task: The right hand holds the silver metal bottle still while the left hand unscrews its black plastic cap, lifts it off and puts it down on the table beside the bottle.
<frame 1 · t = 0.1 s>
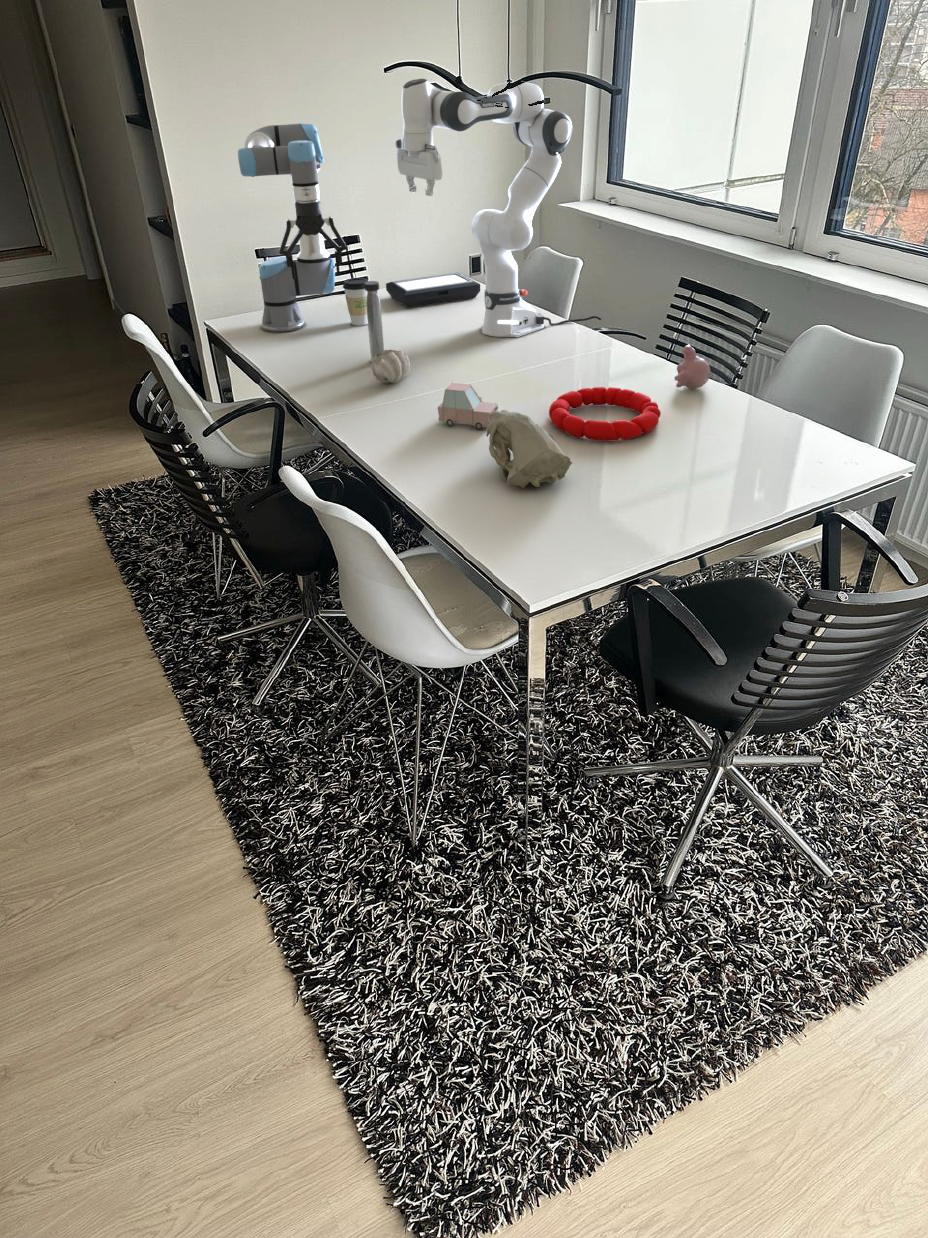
left hand: (316, 276, 273), 28 cm above the table, tool pointing down, fingers open, 13 cm apart
right hand: (421, 193, 273), 48 cm above the table, tool pointing down, fingers open, 8 cm apart
seashell: (392, 382, 274), on the table
coffee cup: (360, 323, 327), on the table
cap: (371, 283, 278), point 24 cm above the table, screwed on, not yet turned
figurine: (690, 388, 263), on the table
toy car: (468, 423, 246), on the table
bottle: (378, 361, 292), on the table
decorative ring: (603, 422, 244), on the table
electronic device: (433, 298, 352), on the table
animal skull: (520, 470, 220), on the table
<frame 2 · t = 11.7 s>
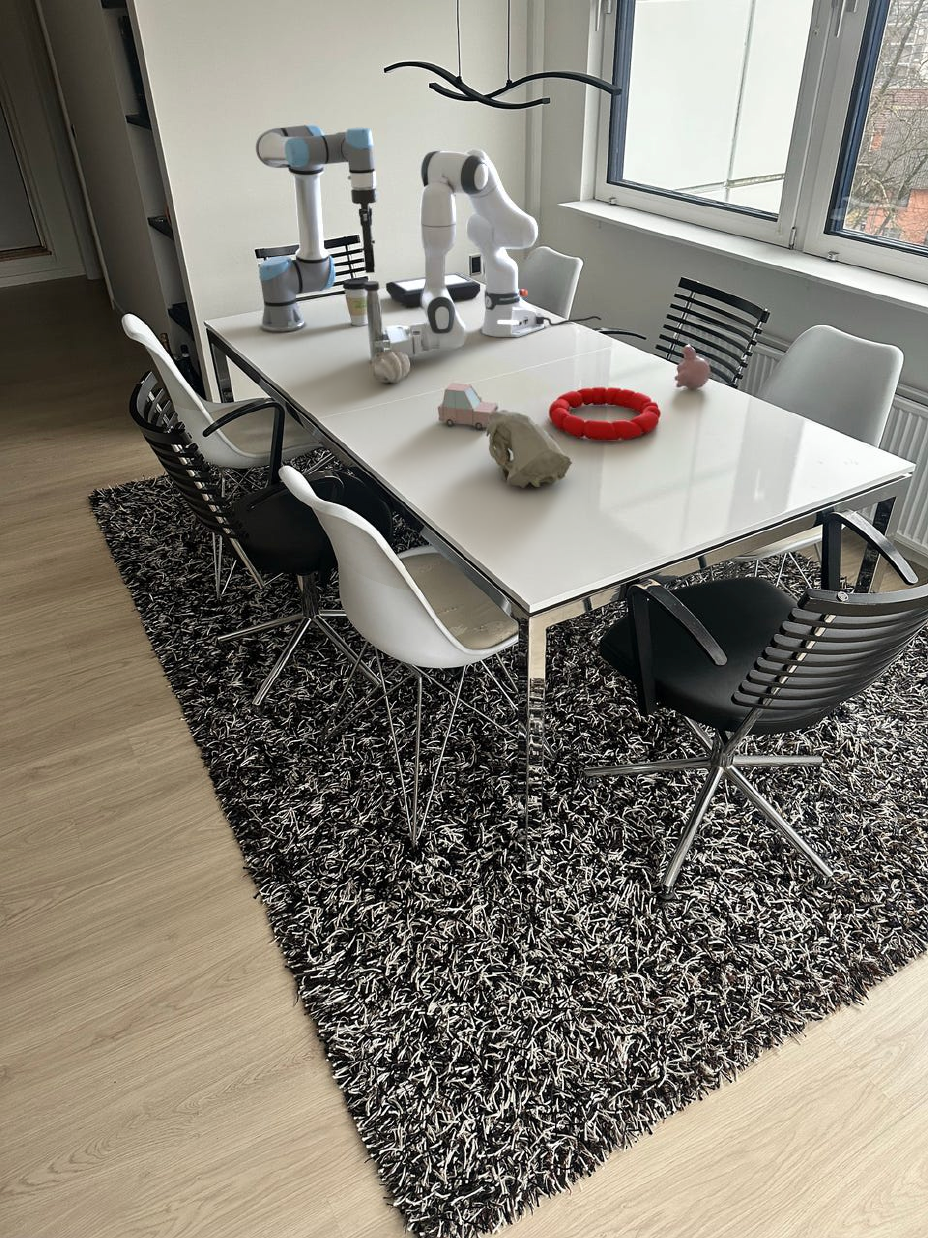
left hand: (370, 269, 275), 29 cm above the table, tool pointing down, fingers open, 7 cm apart
right hand: (373, 341, 288), 7 cm above the table, tool horizontal, fingers closed on bottle, 4 cm apart
bottle: (378, 361, 292), on the table, touching right hand
everything else where it was.
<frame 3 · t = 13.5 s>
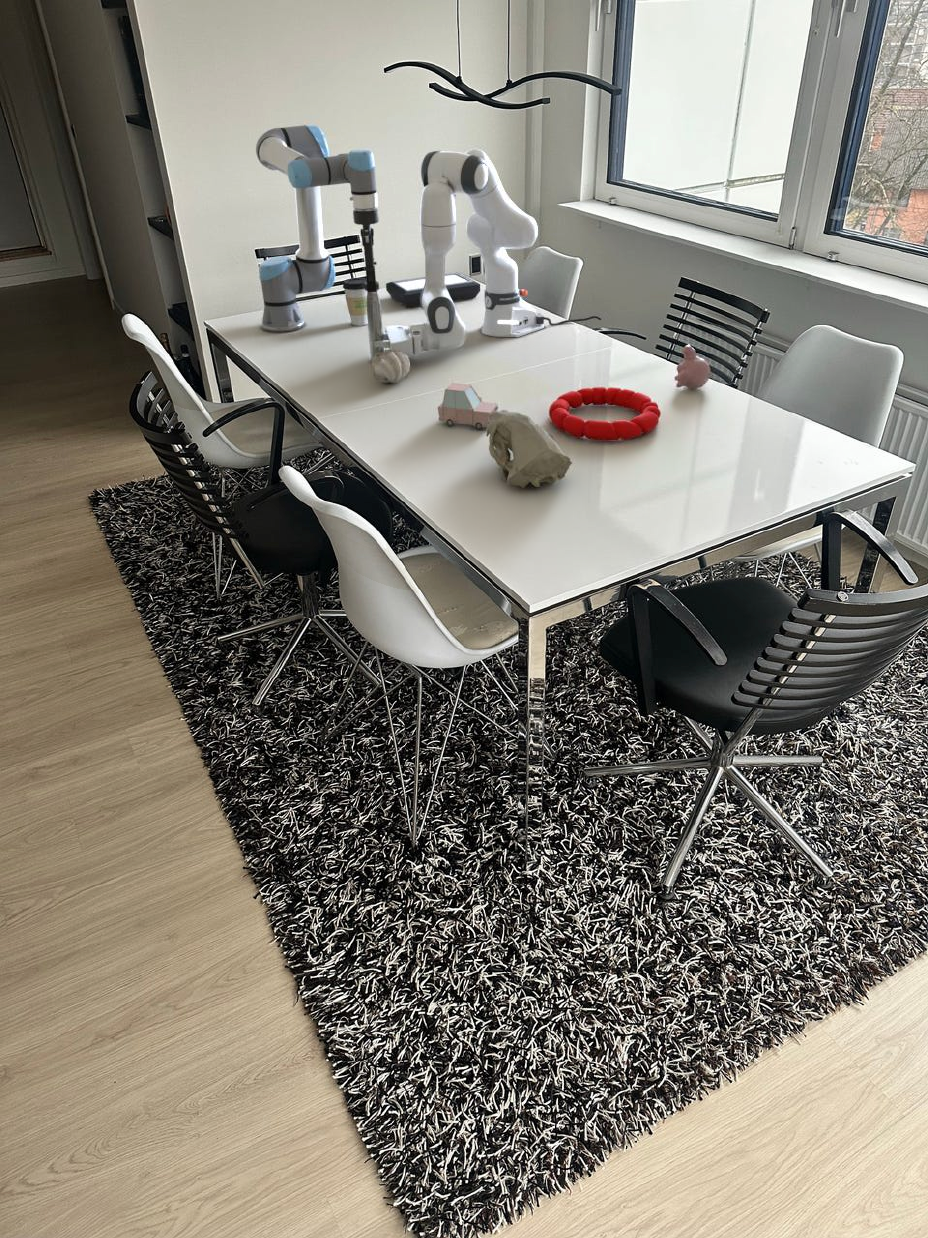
left hand: (372, 289, 279), 23 cm above the table, tool pointing down, fingers closed on cap, 4 cm apart
right hand: (373, 341, 288), 7 cm above the table, tool horizontal, fingers closed on bottle, 4 cm apart
cap: (371, 283, 278), point 24 cm above the table, screwed on, not yet turned, touching left hand
bottle: (378, 361, 292), on the table, touching right hand
everything else where it was.
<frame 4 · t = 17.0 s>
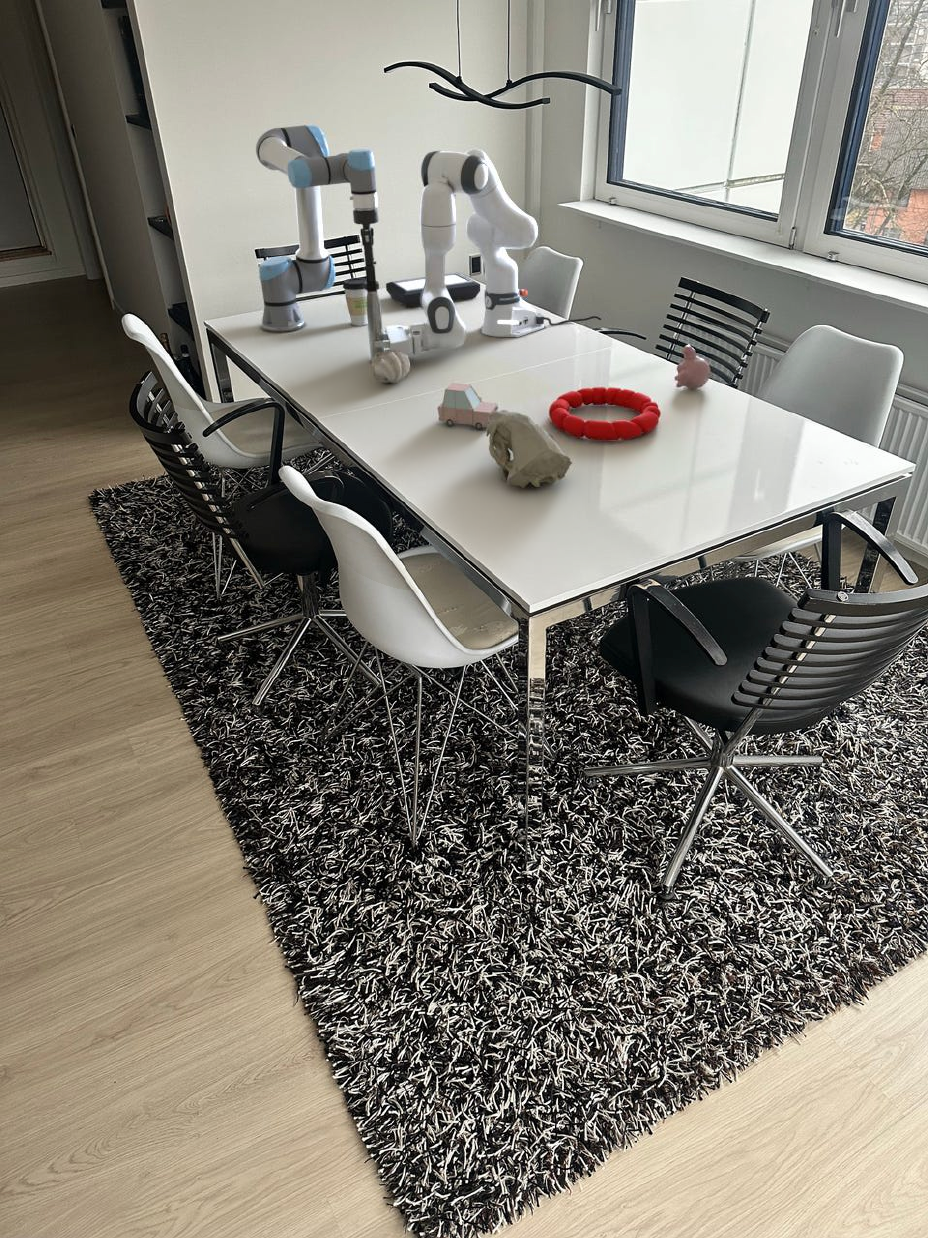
left hand: (372, 288, 279), 23 cm above the table, tool pointing down, fingers closed on cap, 4 cm apart
right hand: (373, 341, 288), 7 cm above the table, tool horizontal, fingers closed on bottle, 4 cm apart
cap: (371, 283, 278), point 25 cm above the table, turned 123° so far, risen 0.1 cm, still on its thread, touching left hand
bottle: (378, 361, 292), on the table, touching right hand
everything else where it was.
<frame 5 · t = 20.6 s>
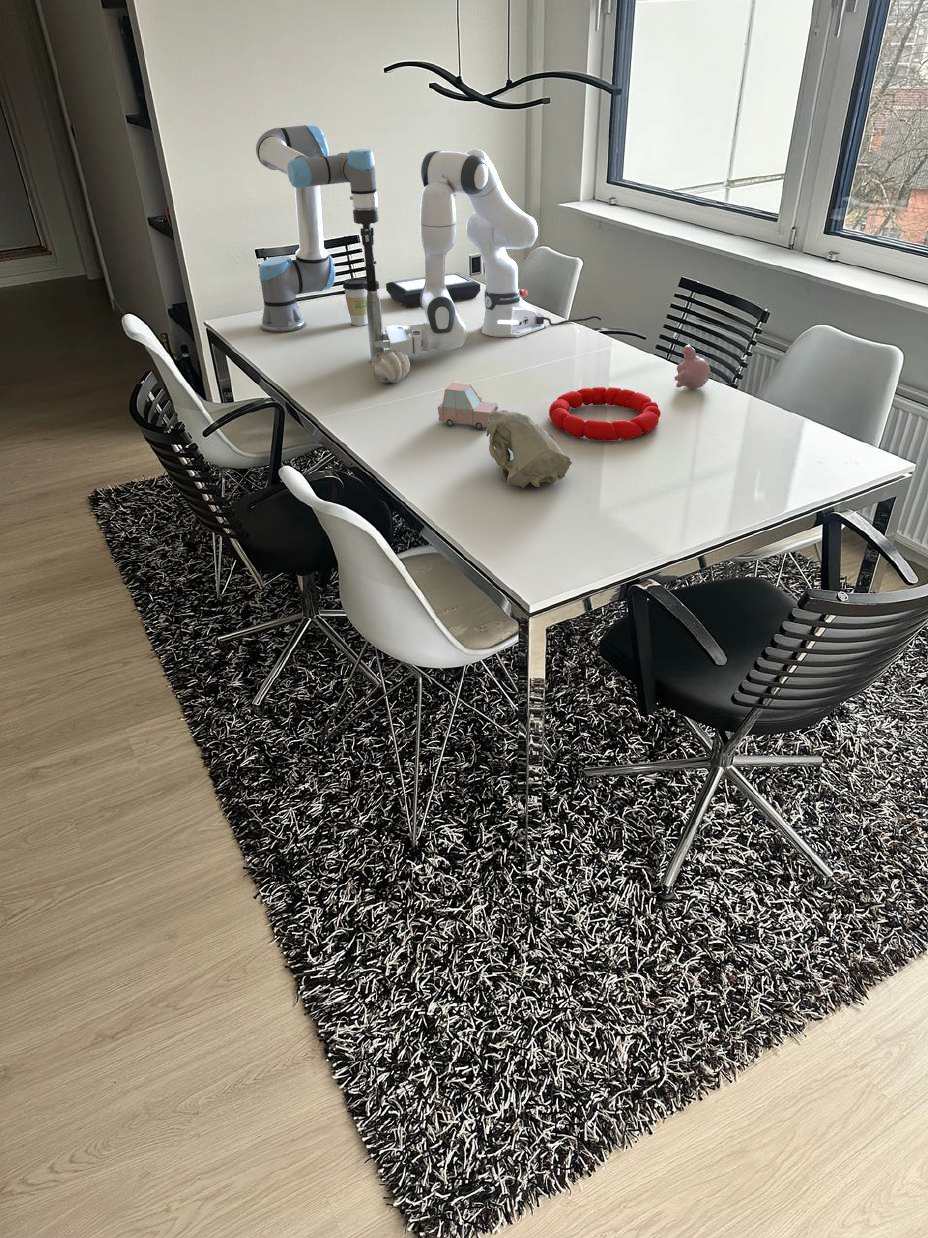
left hand: (371, 288, 278), 23 cm above the table, tool pointing down, fingers closed on cap, 4 cm apart
right hand: (373, 341, 288), 7 cm above the table, tool horizontal, fingers closed on bottle, 4 cm apart
cap: (371, 282, 278), point 25 cm above the table, turned 247° so far, risen 0.2 cm, still on its thread, touching left hand
bottle: (378, 361, 292), on the table, touching right hand
everything else where it was.
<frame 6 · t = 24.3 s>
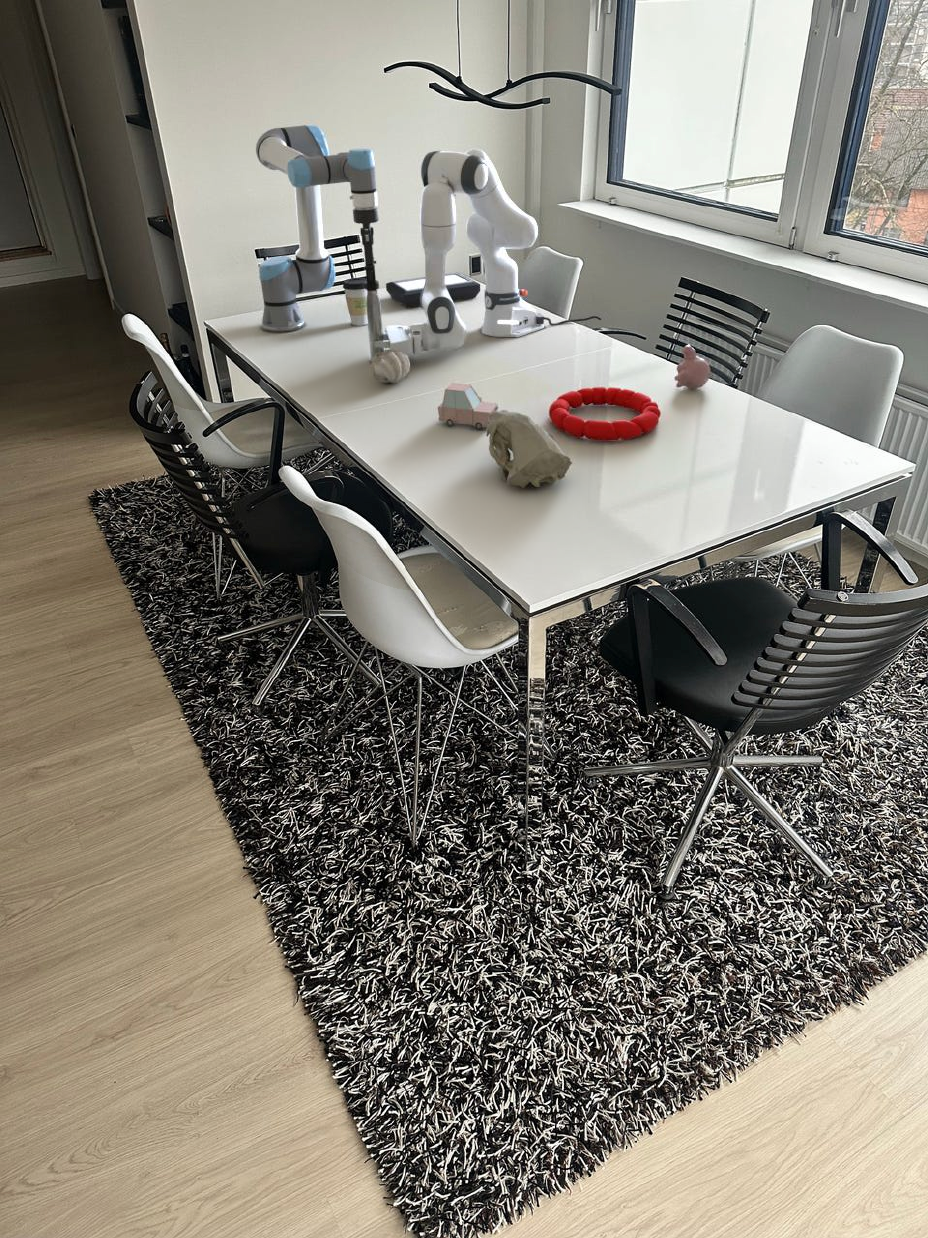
left hand: (371, 288, 278), 23 cm above the table, tool pointing down, fingers closed on cap, 4 cm apart
right hand: (373, 341, 288), 7 cm above the table, tool horizontal, fingers closed on bottle, 4 cm apart
cap: (371, 282, 277), point 25 cm above the table, turned 370° so far, risen 0.3 cm, still on its thread, touching left hand
bottle: (378, 361, 292), on the table, touching right hand
everything else where it was.
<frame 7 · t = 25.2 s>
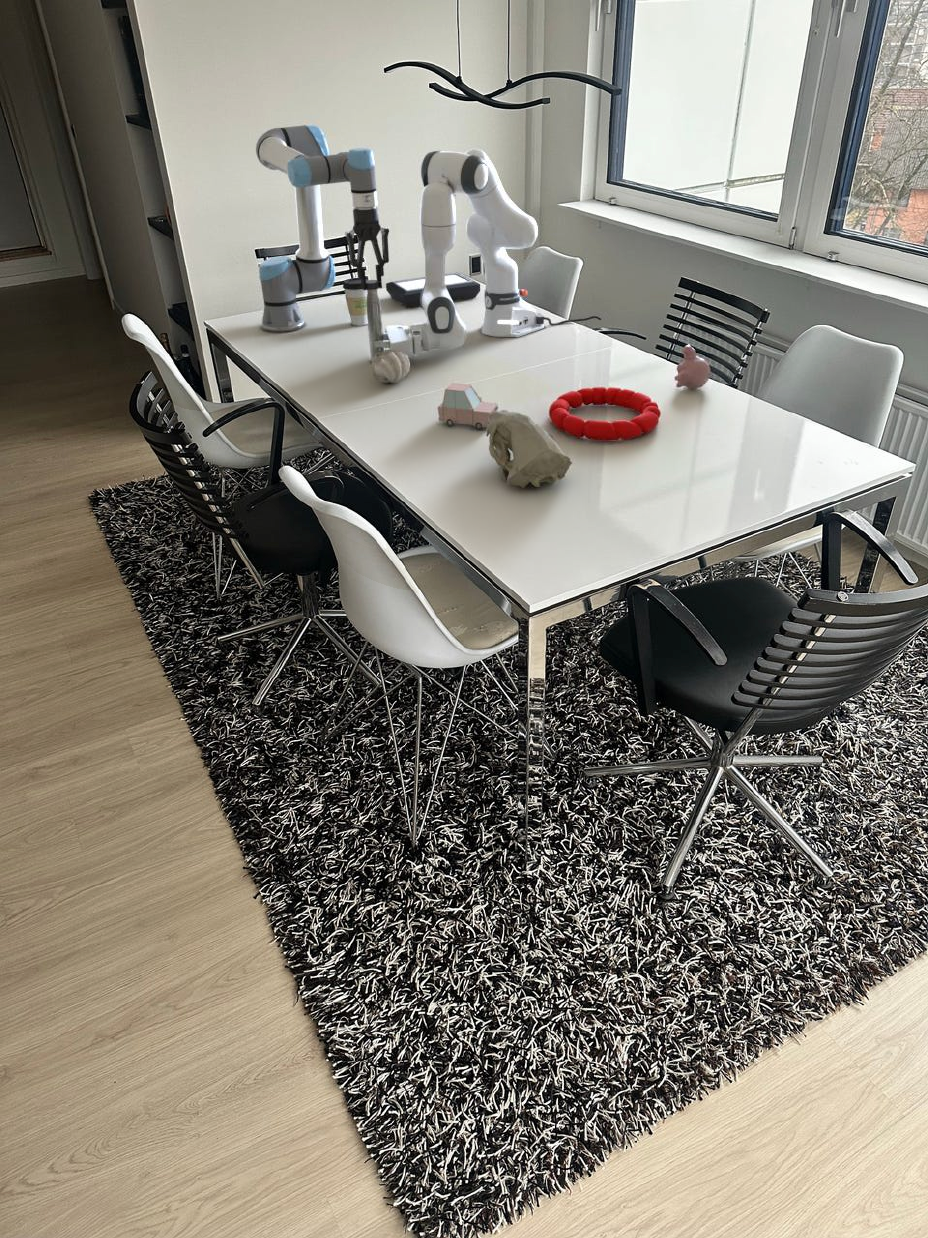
left hand: (371, 287, 278), 23 cm above the table, tool pointing down, fingers closed on cap, 4 cm apart
right hand: (373, 341, 288), 7 cm above the table, tool horizontal, fingers closed on bottle, 4 cm apart
cap: (371, 282, 277), point 25 cm above the table, off its thread, touching left hand
bottle: (378, 361, 292), on the table, touching right hand
everything else where it was.
when the left hand's fingers open (1 cm above the table, at t = 33.3 s): cap stays where it is, point 2 cm above the table.
when the right hand's fingers open (7 cm above the table, at t = 34.6 s): bottle stays where it is, on the table.
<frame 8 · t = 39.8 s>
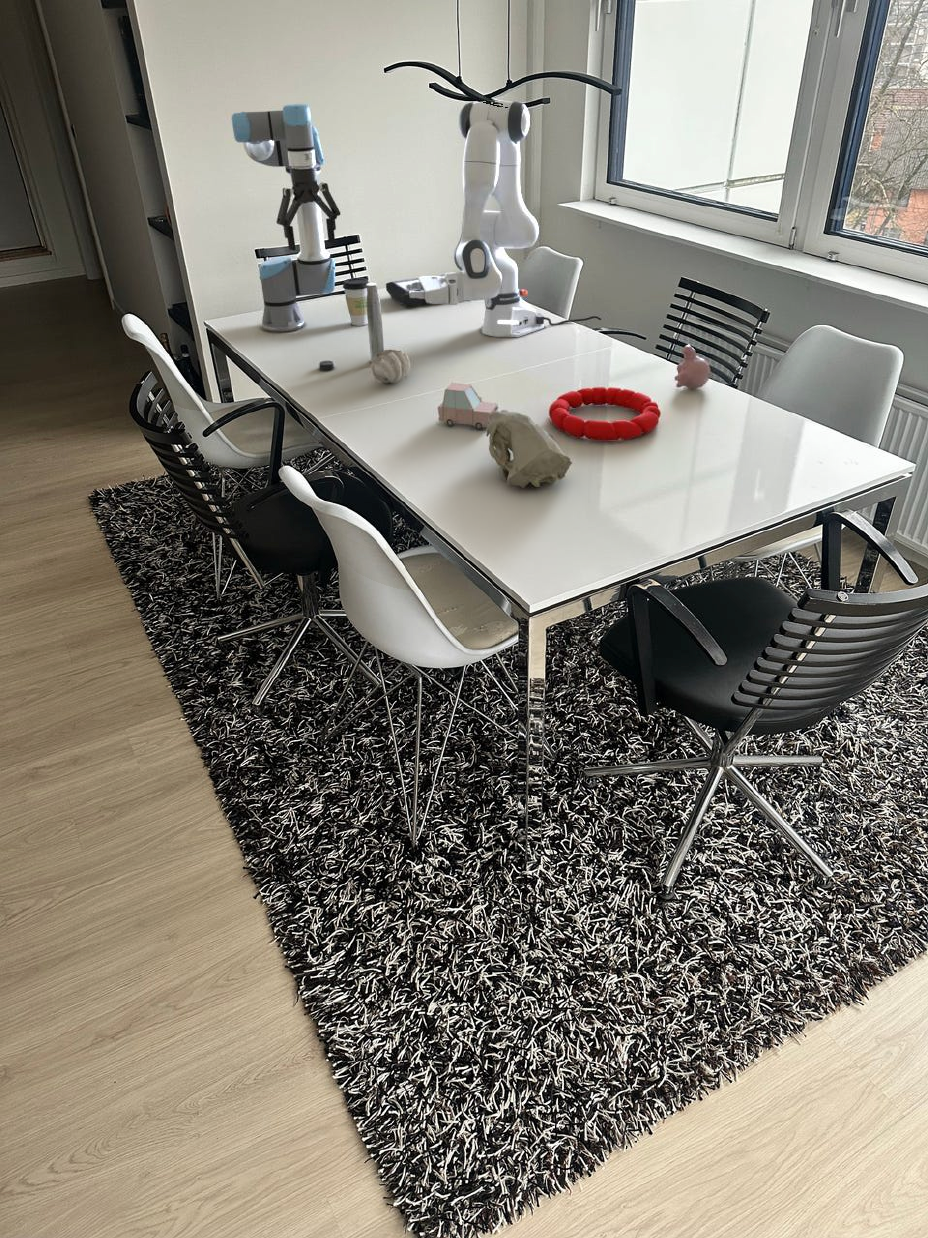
left hand: (312, 245, 266), 37 cm above the table, tool pointing down, fingers open, 13 cm apart
right hand: (407, 290, 281), 22 cm above the table, tool horizontal, fingers open, 8 cm apart
cap: (326, 363, 286), point 2 cm above the table, off its thread
bottle: (378, 361, 292), on the table
everything else where it was.
at the end: cap came off its thread; cap point 1.7 cm above the table; the left hand is holding nothing; the right hand is holding nothing; bottle tilted 0°; bottle moved 0.0 cm from its start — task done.
